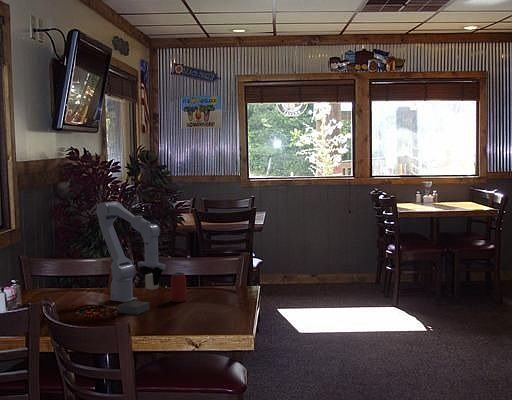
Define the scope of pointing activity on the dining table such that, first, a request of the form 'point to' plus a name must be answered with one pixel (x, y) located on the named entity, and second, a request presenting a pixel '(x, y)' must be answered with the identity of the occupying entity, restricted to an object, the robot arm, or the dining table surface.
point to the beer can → (178, 287)
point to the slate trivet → (134, 307)
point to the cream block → (150, 282)
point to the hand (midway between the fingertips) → (152, 284)
